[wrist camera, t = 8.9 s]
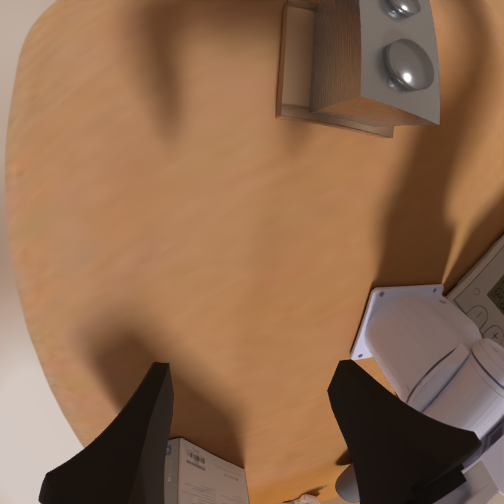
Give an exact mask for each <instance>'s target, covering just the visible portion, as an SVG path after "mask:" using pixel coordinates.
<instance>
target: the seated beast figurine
mask: <svg viewBox="0 0 504 504" xmlns="http://www.w3.org/2000/svg"><path fill="white" fill-rule="evenodd" d="M282 504H320V500H319V499H318V498H317V497H316V496H313V495H309V494H304V495H302V496H301V497H300V498H298V499H295V500H293V501H291V502H285V503H282Z"/></svg>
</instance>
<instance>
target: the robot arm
mask: <svg viewBox="0 0 504 504" xmlns="http://www.w3.org/2000/svg"><path fill="white" fill-rule="evenodd" d="M443 289H444V286H443V285H442V284H433V285H417V286H399V287H377V288H374V289H373V290H372V291H371V294H370V297H369V301H368V304H367V307H366V311H365V314H364V317H363V320H362V323H361V326H360V329H359V332H358V335H357V338H356V341H355V344H354V346H353V349H352V352H351V355H350V357H351V359H350V360H342V361H339V363H338V366H337V368H336V371H335V373H334V376H333V378H332V381H331V383H330V385H329V388H328V390H327V391H328V395H329V400H330V403H331V407H332V410H333V413H334V415H335V418H336V420H337V423H338V425H339V427H340V430H341V432H342V434H343V437H344V439H345V442H346V444H347V446H348V449H349V452H350V455H351V459H352V463H353V467H354V471H355V476H356V480H357V486H358V492H359V498H360V504H486V503H487V502H488V501H489V500H490V499H491V498H493V496H494V495H495V494H497V493H498V492H500V493H501V494H502V495H503V496H504V348H503V347H502V346H500V345H499V344H498V343H496V342H495V341H493V340H491V339H489V338H483V339H482V338H481V334H480V331H479V329H478V327H477V325H476V324H475V323H474V322H473V321H472V320H471V319H470V318H469V317H467V316H466V315H465V314H464V313H463V312H462V311H460V310H459V309H458V308H457V307H456V306H455V305H453V304H452V303H451V302H450V301H449V300H447V299H446V298H445V297H444V296H443V295H442V292H443ZM381 292H382V293H381ZM380 293H381V294H380ZM370 357H373V358H374V359H375V361H376V362H377V364H378V365H379V367H380V368H381V370H382V371H383V373H384V374H385V376H386V378H387V379H388V381H389V382H390V384H391V385H392V387H393V388H394V390H395V392H396V393H397V395H398V396H399V398H400V399H399V398H397V397H396V396H395V395H393V394H392V393H391V392H389V391H388V390H387V389H386V388H384V387H383V386H382V385H381V384H380V383H378V382H377V381H376V380H375V379H374V378H373V377H371V376H370V375H369V374H368V373H367V372H366V371H365V370H363V369H362V368H361V367H360V366H359V365H358V364H356V363H355V362H354V361H353V360H357V359H364V358H370ZM173 396H174V394H173V387H172V381H171V374H170V367H169V363H159V362H154V363H153V364H152V365H151V367H150V369H149V371H148V372H147V374H146V376H145V377H144V379H143V381H142V382H141V384H140V385H139V387H138V388H137V390H136V391H135V393H134V394H133V396H132V397H131V399H130V400H129V401H128V403H127V404H126V405H125V407H124V408H123V409H122V411H121V412H120V413H119V414H118V416H117V417H116V418H115V419H114V420H113V421H112V423H111V424H110V425H109V426H108V427H107V428H106V429H105V430H104V431H103V432H102V433H101V434H100V435H99V436H98V437H97V438H96V439H95V440H94V441H93V442H92V443H90V444H89V445H88V446H87V447H86V448H84V449H83V450H82V451H81V452H79V453H78V454H77V455H75V456H74V457H72V458H71V459H70V460H68V461H67V462H65V463H64V464H62V465H60V466H58V467H57V468H55V469H54V470H52V471H50V472H48V473H47V474H46V476H45V478H44V480H43V483H42V486H41V490H40V495H39V502H40V503H41V504H165V497H164V473H165V458H166V451H167V445H168V439H169V433H170V427H171V421H172V413H173Z"/></svg>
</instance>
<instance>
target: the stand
mask: <svg viewBox="0 0 504 504" xmlns="http://www.w3.org/2000/svg"><path fill="white" fill-rule="evenodd" d="M317 5H318V4H315V3H310V2H306V1H301V0H287V1H286V3H285V5H284V7H283V21H282V37H281V52H280V67H279V81H278V95H277V108H276V118H279V119H287V120H295V121H302V122H308V123H314V124H320V125H326V126H331V127H336V128H341V129H346V130H351V131H355V132H360V133H364V134H368V135H372V136H376V137H380V138H393V129H394V126H380V127H370V126H367V125H363V124H359V123H354V122H350V121H346V120H341V119H337V118H332V117H327V116H322V115H316V114H311V113H309V104H310V89H311V73H312V52H313V22H314V9H315V7H316V6H317Z"/></svg>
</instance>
